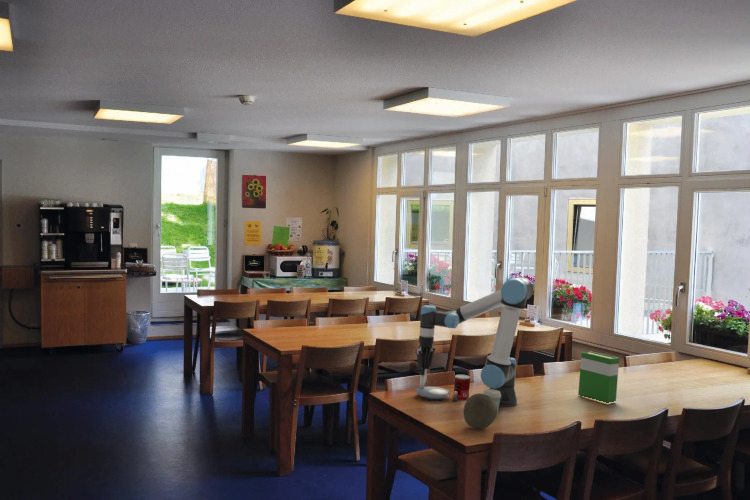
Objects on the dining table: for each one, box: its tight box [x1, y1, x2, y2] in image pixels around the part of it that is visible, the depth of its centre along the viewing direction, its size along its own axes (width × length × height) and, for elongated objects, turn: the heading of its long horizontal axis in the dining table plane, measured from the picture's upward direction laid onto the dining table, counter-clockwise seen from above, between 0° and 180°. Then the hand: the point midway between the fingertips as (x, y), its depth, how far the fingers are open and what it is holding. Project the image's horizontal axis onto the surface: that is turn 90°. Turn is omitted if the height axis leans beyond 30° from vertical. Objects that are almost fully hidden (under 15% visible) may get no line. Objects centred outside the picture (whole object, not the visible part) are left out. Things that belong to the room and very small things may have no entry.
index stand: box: [422, 390, 458, 403], centre depth 323 cm, size 17×10×5 cm, turn 46°
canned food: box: [453, 374, 471, 401], centre depth 328 cm, size 8×8×11 cm
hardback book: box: [577, 350, 620, 403], centre depth 340 cm, size 18×7×24 cm, turn 37°
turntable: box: [415, 375, 451, 400], centre depth 324 cm, size 18×17×8 cm
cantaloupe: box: [462, 393, 498, 431], centre depth 280 cm, size 14×14×15 cm
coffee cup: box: [482, 388, 501, 419], centre depth 298 cm, size 8×8×12 cm
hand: (423, 381), depth 331 cm, fingers closed
